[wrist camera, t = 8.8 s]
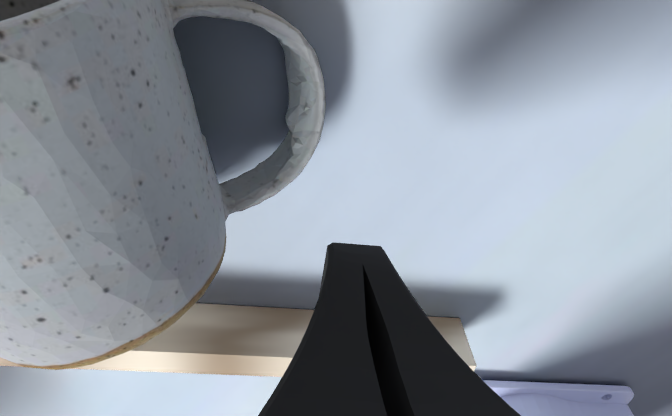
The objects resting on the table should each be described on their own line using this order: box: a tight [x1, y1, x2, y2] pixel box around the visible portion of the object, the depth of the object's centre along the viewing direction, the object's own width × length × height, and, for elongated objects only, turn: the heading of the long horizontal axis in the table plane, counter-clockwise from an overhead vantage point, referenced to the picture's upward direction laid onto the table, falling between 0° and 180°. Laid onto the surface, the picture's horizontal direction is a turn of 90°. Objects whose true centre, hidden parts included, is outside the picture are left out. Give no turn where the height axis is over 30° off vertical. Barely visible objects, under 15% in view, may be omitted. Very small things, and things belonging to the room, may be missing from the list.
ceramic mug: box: [0, 0, 326, 370], centre depth 12 cm, size 11×8×8 cm
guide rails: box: [0, 303, 476, 377], centre depth 15 cm, size 19×16×2 cm
